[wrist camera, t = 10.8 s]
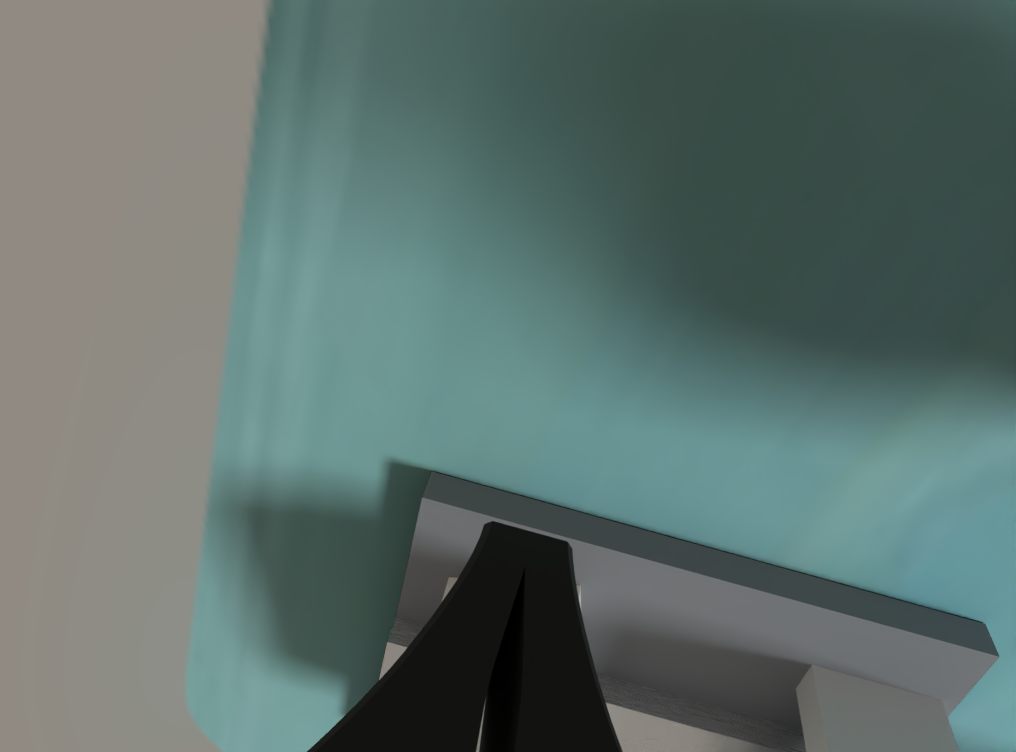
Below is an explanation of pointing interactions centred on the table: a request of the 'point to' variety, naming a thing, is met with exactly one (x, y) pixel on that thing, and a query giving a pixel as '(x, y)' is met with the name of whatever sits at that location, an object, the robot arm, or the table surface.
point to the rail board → (718, 637)
